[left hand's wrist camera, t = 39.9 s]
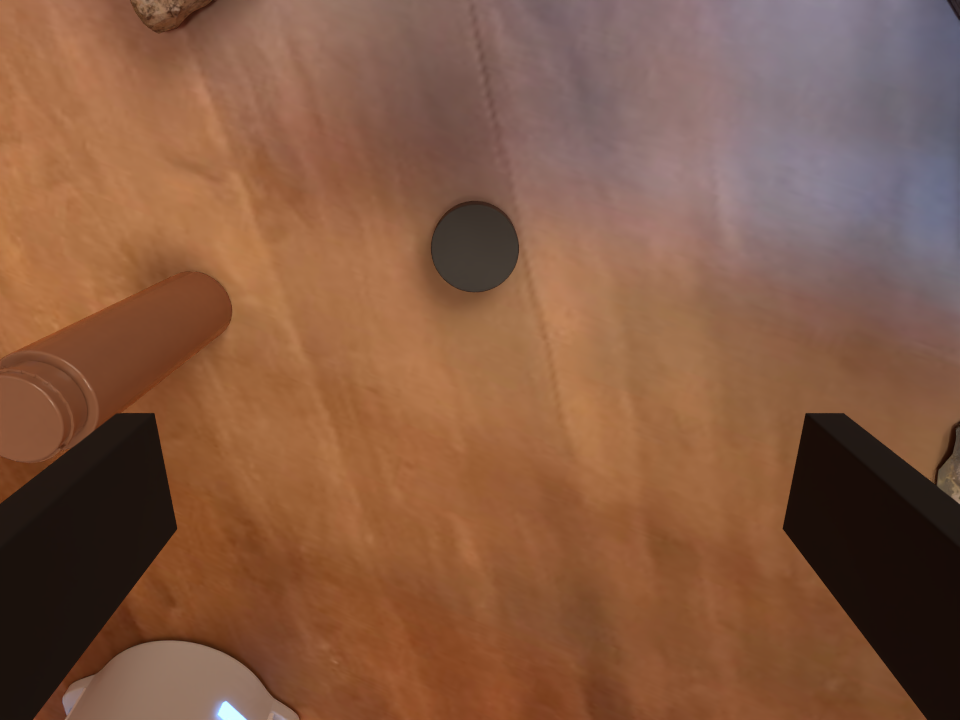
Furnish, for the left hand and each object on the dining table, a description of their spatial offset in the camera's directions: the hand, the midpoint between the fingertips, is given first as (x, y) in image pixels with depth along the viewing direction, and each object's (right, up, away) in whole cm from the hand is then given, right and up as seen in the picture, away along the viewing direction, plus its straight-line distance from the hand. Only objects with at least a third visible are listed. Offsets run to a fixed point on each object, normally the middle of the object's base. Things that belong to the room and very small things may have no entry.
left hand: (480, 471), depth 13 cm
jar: (-18, +6, +27) cm, 33 cm away
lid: (0, +9, +24) cm, 26 cm away
